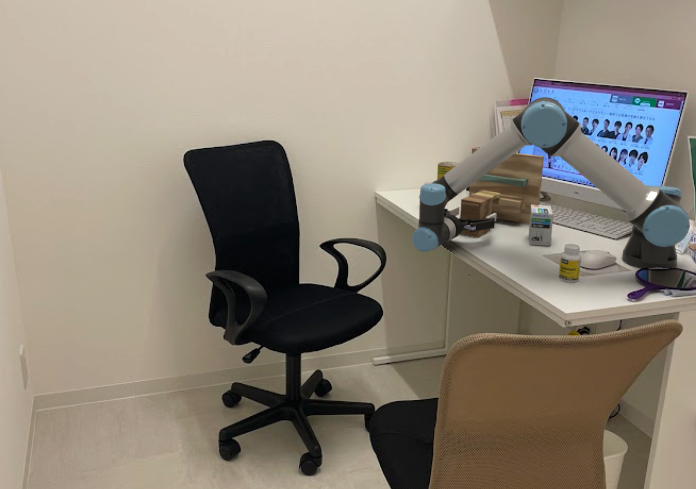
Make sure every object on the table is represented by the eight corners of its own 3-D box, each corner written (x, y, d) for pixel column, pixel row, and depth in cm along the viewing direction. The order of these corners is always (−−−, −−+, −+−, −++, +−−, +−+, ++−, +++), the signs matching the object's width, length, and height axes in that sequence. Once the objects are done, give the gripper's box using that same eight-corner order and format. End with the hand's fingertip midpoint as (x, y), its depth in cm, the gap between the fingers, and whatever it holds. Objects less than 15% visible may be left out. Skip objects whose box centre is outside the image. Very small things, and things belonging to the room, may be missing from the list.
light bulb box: (550, 246, 222) (554, 214, 219) (528, 245, 224) (531, 212, 220) (548, 236, 232) (551, 205, 229) (527, 235, 234) (530, 204, 230)
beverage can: (446, 196, 281) (448, 167, 277) (432, 192, 288) (433, 163, 284) (463, 193, 286) (464, 164, 282) (448, 189, 293) (450, 161, 289)
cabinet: (477, 238, 230) (480, 202, 226) (458, 234, 234) (460, 199, 230) (498, 226, 242) (500, 193, 238) (479, 223, 246) (482, 190, 242)
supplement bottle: (555, 280, 194) (559, 246, 191) (561, 274, 199) (565, 241, 196) (575, 284, 192) (579, 250, 188) (581, 278, 196) (585, 245, 193)
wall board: (528, 229, 239) (534, 160, 232) (460, 216, 254) (463, 151, 246) (540, 221, 248) (547, 154, 240) (474, 209, 263) (478, 146, 255)
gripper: (411, 233, 226) (442, 218, 243) (482, 247, 213) (510, 231, 229) (412, 210, 224) (443, 197, 240) (483, 224, 210) (512, 208, 227)
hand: (476, 213), depth 235 cm, fingers open, 13 cm apart
